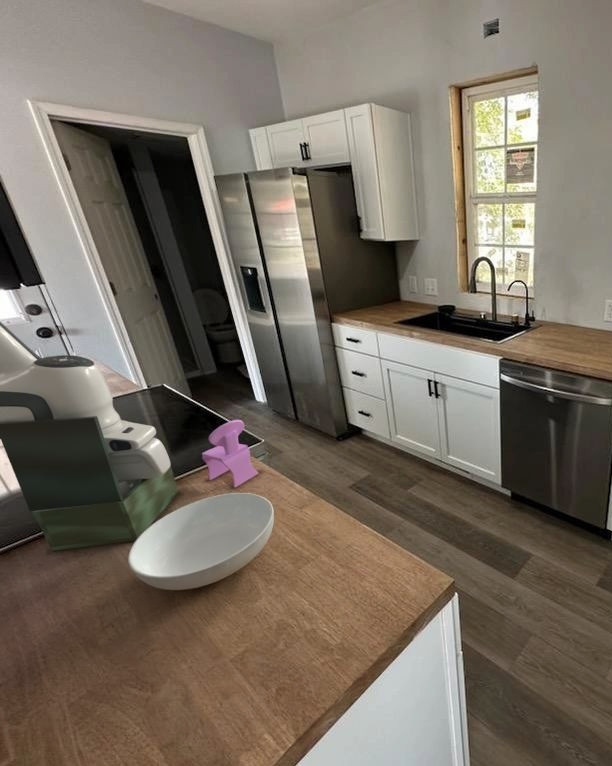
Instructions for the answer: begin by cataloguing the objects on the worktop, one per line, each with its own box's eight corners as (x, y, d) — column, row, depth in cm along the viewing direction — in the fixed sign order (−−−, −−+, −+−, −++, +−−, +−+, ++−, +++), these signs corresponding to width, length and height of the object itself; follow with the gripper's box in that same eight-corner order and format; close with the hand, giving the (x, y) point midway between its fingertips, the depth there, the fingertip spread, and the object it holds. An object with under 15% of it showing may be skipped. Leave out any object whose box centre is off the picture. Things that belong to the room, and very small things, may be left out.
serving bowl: (140, 552, 76) (128, 522, 73) (267, 507, 89) (260, 480, 86) (140, 633, 61) (125, 599, 59) (292, 565, 74) (285, 535, 71)
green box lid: (-2, 422, 68) (-6, 424, 67) (97, 415, 71) (94, 417, 70) (33, 508, 73) (29, 511, 72) (123, 499, 76) (121, 501, 75)
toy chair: (235, 464, 104) (222, 410, 98) (262, 471, 101) (249, 416, 96) (203, 482, 96) (186, 425, 91) (230, 490, 94) (215, 432, 88)
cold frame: (107, 499, 90) (93, 464, 87) (179, 491, 93) (168, 458, 90) (51, 551, 76) (32, 512, 73) (138, 540, 79) (123, 502, 76)
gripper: (12, 451, 73) (43, 514, 78) (146, 441, 78) (166, 501, 83) (41, 435, 79) (67, 494, 84) (164, 426, 84) (182, 483, 89)
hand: (117, 497), depth 84 cm, fingers closed on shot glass, 5 cm apart
